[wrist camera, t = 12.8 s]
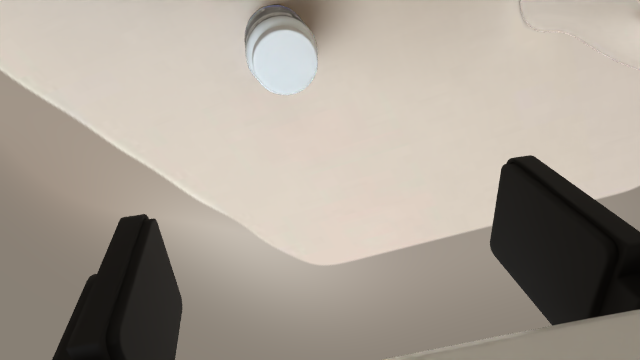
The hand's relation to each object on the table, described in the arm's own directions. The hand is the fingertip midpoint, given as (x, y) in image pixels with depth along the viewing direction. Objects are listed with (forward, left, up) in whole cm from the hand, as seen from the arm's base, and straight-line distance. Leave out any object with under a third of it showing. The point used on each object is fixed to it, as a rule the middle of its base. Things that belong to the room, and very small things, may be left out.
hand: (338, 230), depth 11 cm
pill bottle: (0, 0, -25) cm, 25 cm away
